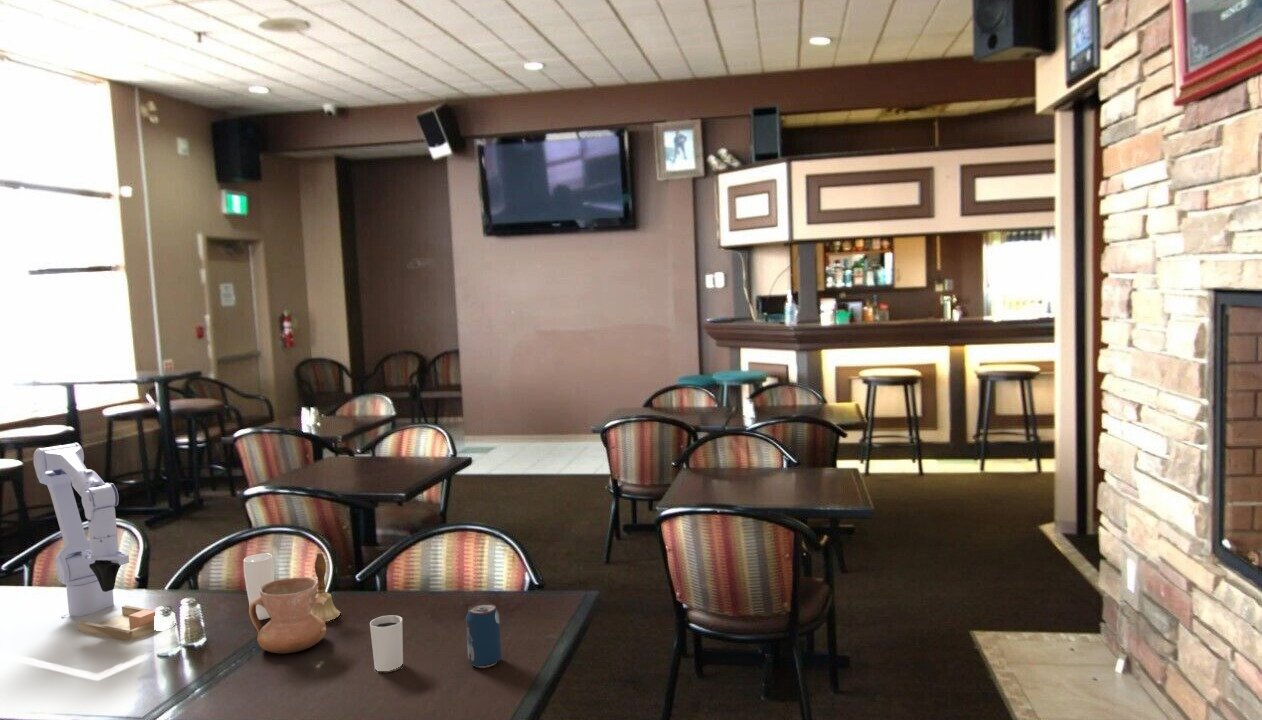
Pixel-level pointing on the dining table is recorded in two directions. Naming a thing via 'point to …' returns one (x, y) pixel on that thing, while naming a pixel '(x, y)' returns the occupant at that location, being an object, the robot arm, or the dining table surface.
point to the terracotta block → (141, 618)
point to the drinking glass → (258, 578)
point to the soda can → (483, 634)
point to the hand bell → (323, 593)
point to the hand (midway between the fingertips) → (108, 590)
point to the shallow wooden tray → (118, 626)
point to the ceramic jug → (289, 615)
